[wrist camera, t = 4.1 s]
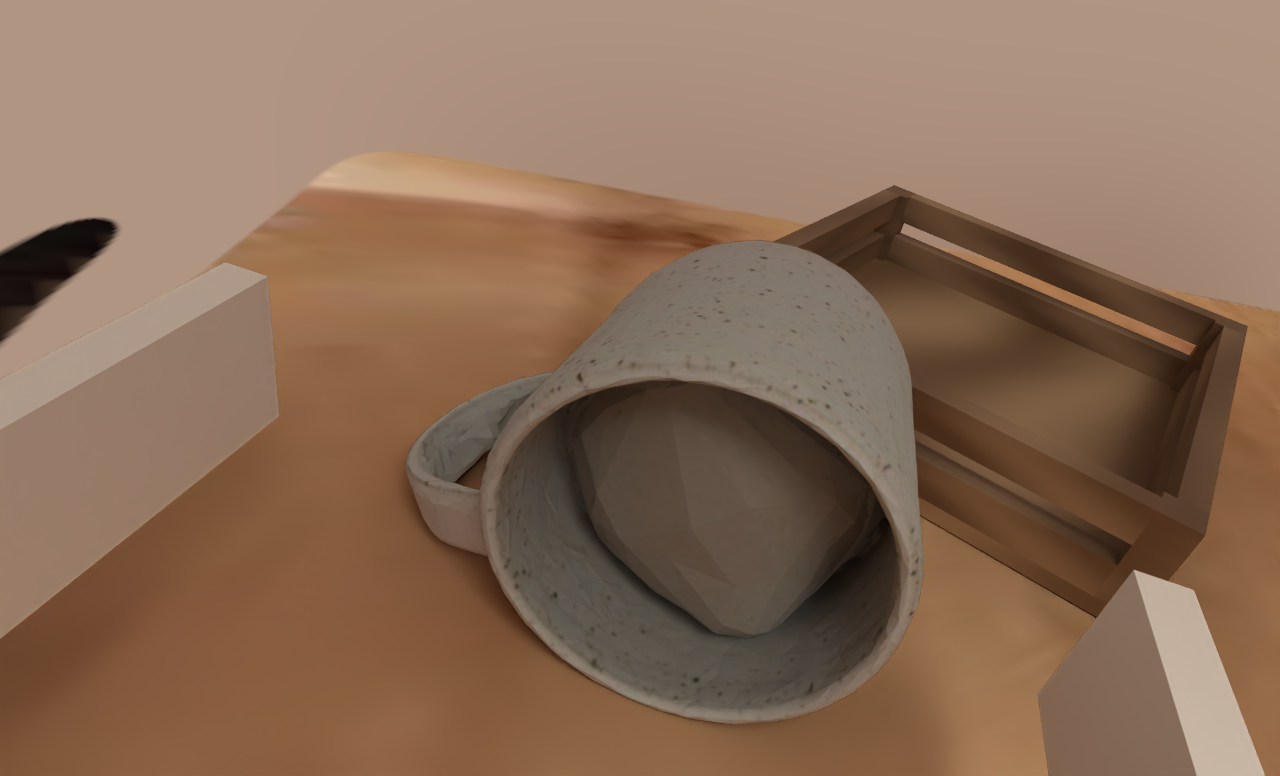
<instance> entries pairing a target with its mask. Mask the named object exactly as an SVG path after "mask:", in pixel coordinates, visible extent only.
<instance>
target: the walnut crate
mask: <svg viewBox="0 0 1280 776" xmlns="http://www.w3.org/2000/svg"><path fill="white" fill-rule="evenodd" d="M904 223H906V224H908V225H911V226H913V227H915V228H917V229H920V230H923V231H925V232H927V233H929V234H932V235H934V236H937V237H940V238H942V239H944V240H946V241H949V242H951V243H954V244H956V245H958V246H961V247H963V248H965V249H968V250H970V251H973V252H975V253H977V254H980V255H982V256H984V257H987V258H989V259H992V260H994V261H996V262H999V263H1001V264H1004V265H1006V266H1008V267H1011V268H1013V269H1016V270H1018V271H1020V272H1023V273H1025V274H1028V275H1030V276H1032V277H1035V278H1037V279H1039V280H1042V281H1044V282H1047V283H1049V284H1051V285H1054V286H1056V287H1059V288H1061V289H1063V290H1066V291H1068V292H1071V293H1073V294H1075V295H1078V296H1080V297H1083V298H1085V299H1087V300H1090V301H1092V302H1095V303H1097V304H1099V305H1102V306H1104V307H1106V308H1109V309H1111V310H1114V311H1116V312H1118V313H1121V314H1123V315H1126V316H1128V317H1130V318H1133V319H1135V320H1138V321H1140V322H1142V323H1145V324H1147V325H1150V326H1152V327H1154V328H1157V329H1159V330H1161V331H1164V332H1166V333H1169V334H1171V335H1173V336H1176V337H1178V338H1181V339H1183V340H1185V341H1188V342H1190V343H1193V344H1195V345H1196V347H1195V348H1194V349H1193V351H1192V352H1191V354H1190V355H1187V354H1185V353H1182V352H1180V351H1178V350H1175V349H1173V348H1171V347H1168V346H1166V345H1163V344H1161V343H1159V342H1156V341H1154V340H1152V339H1149V338H1147V337H1145V336H1142V335H1140V334H1138V333H1135V332H1133V331H1130V330H1128V329H1126V328H1123V327H1121V326H1119V325H1116V324H1114V323H1112V322H1109V321H1107V320H1105V319H1102V318H1100V317H1098V316H1095V315H1093V314H1090V313H1088V312H1086V311H1083V310H1081V309H1079V308H1076V307H1074V306H1072V305H1069V304H1067V303H1065V302H1062V301H1060V300H1057V299H1055V298H1053V297H1050V296H1048V295H1046V294H1043V293H1041V292H1039V291H1036V290H1034V289H1032V288H1029V287H1027V286H1024V285H1022V284H1020V283H1017V282H1015V281H1013V280H1010V279H1008V278H1006V277H1003V276H1001V275H999V274H996V273H994V272H992V271H989V270H987V269H984V268H982V267H980V266H977V265H975V264H973V263H970V262H968V261H966V260H963V259H961V258H959V257H956V256H954V255H951V254H949V253H947V252H944V251H942V250H940V249H937V248H935V247H933V246H930V245H928V244H926V243H923V242H921V241H919V240H916V239H914V238H911V237H909V236H907V235H904V234H902V233H900V232H901V229H902V227H903V224H904ZM774 242H776V243H781V244H786V245H790V246H794V247H798V248H802V249H805V250H809V251H812V252H814V253H815V254H817V255H819V256H821V257H823V258H825V259H827V260H828V261H830V262H832V263H834V264H836V265H838V266H840V267H841V268H843V269H845V270H846V271H847V272H848V273H849V274H850V275H852V276H853V277H854V278H855V279H856V280H857V281H858V282H859V283H860V284H862V285H863V286H864V287H865V288H866V289H867V290H868V292H869V293H870V294H871V295H872V296H873V297H874V298H875V299H876V301H877V302H878V303H879V305H880V307H881V308H882V310H883V311H884V313H885V314H886V316H887V317H888V319H889V321H890V323H891V325H892V327H893V329H894V331H895V333H896V335H897V337H898V339H899V341H900V343H901V345H902V347H903V349H904V353H905V356H906V359H907V362H908V365H909V370H910V375H911V384H912V401H913V424H914V436H915V449H916V463H917V480H918V499H919V510H920V515H921V516H923V517H924V518H926V519H928V520H929V521H931V522H933V523H935V524H936V525H938V526H940V527H942V528H943V529H945V530H947V531H948V532H950V533H952V534H954V535H955V536H957V537H959V538H961V539H962V540H964V541H966V542H967V543H969V544H971V545H973V546H974V547H976V548H978V549H980V550H981V551H983V552H985V553H986V554H988V555H990V556H992V557H993V558H995V559H997V560H999V561H1000V562H1002V563H1004V564H1005V565H1007V566H1009V567H1011V568H1012V569H1014V570H1016V571H1018V572H1019V573H1021V574H1023V575H1024V576H1026V577H1028V578H1030V579H1031V580H1033V581H1035V582H1037V583H1038V584H1040V585H1042V586H1043V587H1045V588H1047V589H1049V590H1050V591H1052V592H1054V593H1056V594H1057V595H1059V596H1061V597H1062V598H1064V599H1066V600H1068V601H1069V602H1071V603H1073V604H1075V605H1076V606H1078V607H1080V608H1081V609H1083V610H1085V611H1087V612H1088V613H1090V614H1092V615H1094V616H1095V617H1098V615H1099V614H1100V613H1101V612H1102V610H1103V609H1104V608H1105V606H1106V605H1107V604H1108V602H1109V601H1110V600H1111V599H1112V597H1113V596H1114V595H1115V593H1116V592H1117V591H1118V590H1119V588H1120V587H1121V586H1122V584H1123V583H1124V582H1125V580H1126V579H1127V578H1128V577H1129V575H1130V574H1131V573H1132V571H1133V570H1136V571H1139V572H1142V573H1145V574H1148V575H1151V576H1154V577H1157V578H1160V579H1163V580H1166V581H1168V580H1169V579H1170V578H1171V577H1172V575H1173V574H1174V573H1175V572H1176V571H1177V569H1178V568H1179V567H1180V566H1181V564H1182V563H1183V562H1184V561H1185V560H1186V558H1187V557H1188V556H1189V555H1190V553H1191V552H1192V551H1193V550H1194V548H1195V547H1196V546H1197V545H1198V544H1199V542H1200V541H1201V540H1202V539H1203V537H1204V536H1205V534H1206V529H1207V524H1208V519H1209V514H1210V509H1211V504H1212V499H1213V494H1214V489H1215V485H1216V480H1217V475H1218V470H1219V465H1220V460H1221V455H1222V450H1223V445H1224V440H1225V435H1226V430H1227V425H1228V420H1229V416H1230V411H1231V406H1232V401H1233V396H1234V391H1235V386H1236V381H1237V376H1238V371H1239V366H1240V361H1241V356H1242V351H1243V346H1244V342H1245V337H1246V332H1247V327H1248V326H1246V325H1243V324H1241V323H1238V322H1236V321H1233V320H1231V319H1228V318H1226V317H1223V316H1220V315H1218V314H1215V313H1213V312H1210V311H1208V310H1205V309H1203V308H1200V307H1198V306H1195V305H1193V304H1190V303H1188V302H1185V301H1183V300H1180V299H1178V298H1175V297H1173V296H1170V295H1168V294H1165V293H1163V292H1160V291H1158V290H1155V289H1153V288H1150V287H1148V286H1145V285H1143V284H1140V283H1138V282H1135V281H1133V280H1130V279H1128V278H1125V277H1123V276H1120V275H1118V274H1115V273H1113V272H1110V271H1108V270H1105V269H1103V268H1100V267H1098V266H1095V265H1092V264H1090V263H1088V262H1085V261H1083V260H1080V259H1078V258H1075V257H1073V256H1070V255H1068V254H1065V253H1062V252H1060V251H1057V250H1055V249H1052V248H1050V247H1047V246H1044V245H1042V244H1040V243H1037V242H1035V241H1032V240H1030V239H1027V238H1025V237H1022V236H1020V235H1017V234H1015V233H1012V232H1010V231H1007V230H1005V229H1002V228H1000V227H997V226H995V225H992V224H990V223H987V222H985V221H982V220H980V219H977V218H975V217H972V216H970V215H967V214H964V213H962V212H960V211H957V210H955V209H952V208H950V207H947V206H944V205H942V204H940V203H937V202H935V201H932V200H929V199H927V198H924V197H922V196H919V195H917V194H915V193H912V192H910V191H907V190H904V189H902V188H900V187H897V186H895V185H894V186H892V187H890V188H888V189H886V190H883V191H881V192H879V193H877V194H875V195H873V196H870V197H868V198H866V199H864V200H862V201H860V202H858V203H855V204H854V205H851V206H849V207H847V208H845V209H843V210H840V211H839V212H836V213H834V214H832V215H830V216H828V217H825V218H824V219H821V220H819V221H817V222H815V223H813V224H810V225H808V226H806V227H804V228H802V229H800V230H798V231H795V232H793V233H791V234H789V235H787V236H785V237H783V238H780V239H778V240H776V241H774Z"/></svg>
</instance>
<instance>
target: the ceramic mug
mask: <svg viewBox="0 0 1280 776" xmlns="http://www.w3.org/2000/svg"><path fill="white" fill-rule="evenodd" d="M490 449H491V451H490V453H489V455H488V458H487V462H486V466H485V470H484V474H483V478H482V482H481V487H480V489H479V490H476V489H473V488H470V487H466V486H463V485H460V484H456V483H455V482H456V481H457V480H458V479H459V478H460V476H461V475H462V474H463V473H464V472H466V471H467V470H468V469H469V468H470V467H472V466H473V465H474V464H475V463H476V462H477V461H478V460H479V459H480V457H481V456H482V455H483V454H484V453H485V452H487V451H488V450H490ZM406 473H407V476H408V479H409V482H410V485H411V487H412V490H413V493H414V495H415V498H416V501H417V503H418V506H419V509H420V511H421V514H422V517H423V519H424V520H425V522H426V523H427V525H428V527H429V528H430V530H431V531H432V532H433V533H434V534H435V535H436V536H437V537H438V538H439V539H440V540H441V541H443V542H445V543H447V544H449V545H451V546H454V547H457V548H460V549H463V550H467V551H470V552H473V553H477V554H480V555H484V556H488V559H489V562H490V564H491V567H492V570H493V571H494V573H495V575H496V577H497V579H498V582H499V584H500V586H501V588H502V591H503V593H504V594H505V595H506V597H507V598H508V600H509V601H510V603H511V604H512V606H513V607H514V608H515V610H516V611H517V613H518V614H519V616H520V617H521V619H522V620H523V621H524V623H525V624H526V625H527V626H528V627H529V628H530V629H531V630H532V631H533V632H534V633H535V634H536V635H537V636H538V637H539V638H540V639H541V640H542V641H543V642H544V643H545V644H546V645H547V646H548V647H549V648H550V649H551V650H552V651H553V652H554V653H555V654H557V655H558V656H559V657H560V658H561V659H563V660H564V661H566V662H567V663H568V664H570V665H571V666H573V667H574V668H576V669H577V670H579V671H580V672H582V673H583V674H584V675H586V676H587V677H589V678H590V679H592V680H593V681H595V682H597V683H599V684H601V685H603V686H604V687H606V688H608V689H610V690H612V691H614V692H616V693H618V694H620V695H622V696H624V697H626V698H629V699H631V700H633V701H635V702H638V703H641V704H643V705H646V706H649V707H652V708H654V709H657V710H660V711H662V712H667V713H672V714H675V715H677V716H680V717H684V718H690V719H696V720H703V721H711V722H718V723H726V724H744V723H763V722H779V721H783V720H788V719H792V718H796V717H801V716H804V715H808V714H811V713H814V712H816V711H818V710H821V709H823V708H825V707H827V706H829V705H831V704H833V703H835V702H837V701H838V700H840V699H842V698H844V697H846V696H848V695H850V694H851V693H853V692H855V691H856V690H857V689H858V688H859V687H861V686H862V685H863V684H864V683H866V682H867V681H868V680H869V679H870V678H872V677H873V676H874V675H875V674H876V673H877V672H878V671H879V670H880V669H881V668H882V666H883V665H884V664H885V663H886V662H887V661H888V660H889V658H890V657H891V655H892V654H893V652H894V651H895V650H896V648H897V647H898V645H899V643H900V641H901V639H902V637H903V635H904V633H905V631H906V629H907V628H908V626H909V624H910V622H911V620H912V617H913V615H914V612H915V610H916V607H917V605H918V603H919V598H920V592H921V586H922V580H923V549H922V532H921V521H920V510H919V499H918V480H917V463H916V449H915V436H914V424H913V401H912V384H911V375H910V370H909V365H908V362H907V359H906V356H905V353H904V349H903V347H902V345H901V343H900V341H899V339H898V337H897V335H896V333H895V331H894V329H893V327H892V325H891V323H890V321H889V319H888V317H887V316H886V314H885V313H884V311H883V310H882V308H881V307H880V305H879V303H878V302H877V301H876V299H875V298H874V297H873V296H872V295H871V294H870V293H869V292H868V290H867V289H866V288H865V287H864V286H863V285H862V284H860V283H859V282H858V281H857V280H856V279H855V278H854V277H853V276H852V275H850V274H849V273H848V272H847V271H846V270H845V269H843V268H841V267H840V266H838V265H836V264H834V263H832V262H830V261H828V260H827V259H825V258H823V257H821V256H819V255H817V254H815V253H814V252H812V251H809V250H805V249H802V248H798V247H794V246H790V245H786V244H781V243H776V242H769V241H762V240H749V241H737V242H729V243H720V244H716V245H712V246H709V247H706V248H703V249H699V250H697V251H694V252H692V253H690V254H687V255H685V256H683V257H681V258H679V259H677V260H675V261H674V262H672V263H670V264H668V265H666V266H665V267H663V268H661V269H659V270H657V271H656V272H654V273H652V274H651V275H650V276H649V277H648V278H646V279H645V280H644V281H643V282H642V283H641V284H640V285H639V286H637V287H636V288H635V289H634V290H633V291H632V292H631V293H630V294H629V295H628V296H627V297H626V298H625V299H624V300H623V301H622V302H621V303H620V304H619V305H618V306H617V307H616V309H615V310H614V311H613V312H612V314H611V315H610V316H609V317H608V319H607V320H606V321H605V322H604V323H603V324H602V325H601V326H600V327H599V328H598V329H597V330H596V331H595V332H594V333H593V334H592V335H591V336H590V337H589V338H588V339H587V340H586V341H585V342H583V343H582V344H581V345H580V346H579V347H578V348H577V349H576V350H575V351H574V352H573V353H572V354H571V355H570V356H569V357H568V358H567V359H566V360H565V361H564V362H563V363H562V364H561V365H560V366H559V367H558V368H557V369H556V370H555V371H554V372H549V373H543V374H539V375H534V376H530V377H522V378H520V379H517V380H515V381H512V382H509V383H507V384H504V385H500V386H497V387H495V388H492V389H490V390H488V391H486V392H483V393H481V394H479V395H477V396H475V397H473V398H471V399H469V400H467V401H465V402H464V403H462V404H460V405H458V406H457V407H455V408H453V409H452V410H450V411H449V412H448V413H447V414H446V415H444V416H443V417H441V418H440V419H438V420H437V421H436V422H435V423H434V424H432V425H431V426H430V427H429V428H428V429H426V430H425V431H424V432H423V433H422V435H421V436H420V437H419V438H418V439H417V440H416V442H415V443H414V445H413V446H412V447H411V449H410V451H409V453H408V456H407V460H406Z"/></svg>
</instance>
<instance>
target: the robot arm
mask: <svg viewBox="0 0 1280 776" xmlns="http://www.w3.org/2000/svg"><path fill="white" fill-rule="evenodd" d="M278 417H279V407H278V395H277V382H276V370H275V358H274V345H273V333H272V321H271V308H270V296H269V283H268V276H265V275H262V274H259V273H256V272H253V271H250V270H247V269H244V268H241V267H238V266H235V265H233V264H230V263H227V262H225V263H223V264H221V265H219V266H217V267H215V268H213V269H211V270H209V271H207V272H205V273H203V274H201V275H200V276H198V277H196V278H194V279H192V280H190V281H188V282H186V283H184V284H182V285H180V286H178V287H176V288H174V289H173V290H171V291H169V292H167V293H165V294H163V295H161V296H159V297H157V298H155V299H153V300H151V301H149V302H147V303H146V304H144V305H142V306H140V307H138V308H136V309H134V310H132V311H130V312H128V313H126V314H124V315H122V316H120V317H118V318H116V319H114V320H113V321H111V322H109V323H107V324H105V325H103V326H101V327H99V328H97V329H95V330H93V331H91V332H90V333H88V334H85V335H84V336H82V337H80V338H78V339H76V340H74V341H72V342H70V343H68V344H66V345H64V346H62V347H60V348H58V349H56V350H54V351H53V352H51V353H49V354H47V355H45V356H43V357H41V358H39V359H37V360H35V361H33V362H32V363H29V364H27V365H25V366H24V367H22V368H20V369H18V370H16V371H14V372H12V373H10V374H8V375H6V376H4V377H2V378H0V639H1V638H2V637H3V636H4V635H6V634H7V633H8V632H10V631H11V630H12V629H13V628H15V627H16V626H17V625H18V624H20V623H21V622H22V621H23V620H25V619H26V618H27V617H28V616H30V615H31V614H32V613H33V612H35V611H36V610H37V609H38V608H40V607H41V606H42V605H43V604H45V603H46V602H47V601H48V600H50V599H51V598H52V597H53V596H55V595H56V594H57V593H58V592H60V591H61V590H62V589H63V588H65V587H66V586H67V585H68V584H70V583H71V582H72V581H73V580H75V579H76V578H77V577H78V576H80V575H81V574H82V573H83V572H85V571H86V570H87V569H88V568H90V567H91V566H92V565H94V564H95V563H96V562H97V561H99V560H100V559H101V558H102V557H104V556H105V555H106V554H107V553H109V552H110V551H111V550H112V549H114V548H115V547H116V546H117V545H119V544H120V543H121V542H122V541H124V540H125V539H126V538H127V537H129V536H130V535H131V534H132V533H134V532H135V531H136V530H137V529H139V528H140V527H141V526H142V525H144V524H145V523H146V522H147V521H149V520H150V519H151V518H152V517H154V516H155V515H156V514H157V513H159V512H160V511H161V510H162V509H164V508H165V507H166V506H167V505H169V504H170V503H171V502H172V501H174V500H175V499H176V498H178V497H179V496H180V495H181V494H183V493H184V492H185V491H186V490H188V489H189V488H190V487H191V486H193V485H194V484H195V483H196V482H198V481H199V480H200V479H201V478H203V477H204V476H205V475H206V474H208V473H209V472H210V471H211V470H213V469H214V468H215V467H216V466H218V465H219V464H220V463H221V462H223V461H224V460H225V459H226V458H228V457H229V456H230V455H231V454H233V453H234V452H235V451H236V450H238V449H239V448H240V447H241V446H243V445H244V444H245V443H246V442H248V441H249V440H250V439H251V438H253V437H254V436H255V435H256V434H258V433H259V432H260V431H262V430H263V429H264V428H265V427H267V426H268V425H269V424H270V423H272V422H273V421H274V420H275V419H277V418H278ZM1038 701H1039V708H1040V716H1041V723H1042V730H1043V737H1044V745H1045V752H1046V759H1047V767H1048V774H1049V776H1265V774H1264V771H1263V769H1262V766H1261V763H1260V761H1259V758H1258V756H1257V753H1256V750H1255V748H1254V745H1253V743H1252V740H1251V737H1250V735H1249V732H1248V730H1247V727H1246V724H1245V722H1244V719H1243V717H1242V714H1241V711H1240V709H1239V706H1238V704H1237V701H1236V698H1235V696H1234V693H1233V691H1232V688H1231V685H1230V683H1229V680H1228V678H1227V675H1226V672H1225V670H1224V667H1223V664H1222V662H1221V659H1220V657H1219V654H1218V651H1217V649H1216V646H1215V644H1214V641H1213V638H1212V636H1211V633H1210V631H1209V628H1208V625H1207V623H1206V620H1205V618H1204V615H1203V612H1202V610H1201V607H1200V605H1199V602H1198V599H1197V597H1196V594H1195V592H1194V590H1192V589H1189V588H1186V587H1183V586H1180V585H1177V584H1175V583H1172V582H1169V581H1166V580H1163V579H1160V578H1157V577H1154V576H1151V575H1148V574H1145V573H1142V572H1139V571H1136V570H1133V571H1132V573H1131V574H1130V575H1129V577H1128V578H1127V579H1126V580H1125V582H1124V583H1123V584H1122V586H1121V587H1120V588H1119V590H1118V591H1117V592H1116V593H1115V595H1114V596H1113V597H1112V599H1111V600H1110V601H1109V602H1108V604H1107V605H1106V606H1105V608H1104V609H1103V610H1102V612H1101V613H1100V614H1099V615H1098V617H1097V618H1096V619H1095V621H1094V622H1093V623H1092V624H1091V626H1090V627H1089V628H1088V630H1087V631H1086V632H1085V634H1084V635H1083V636H1082V637H1081V639H1080V640H1079V641H1078V643H1077V644H1076V645H1075V647H1074V648H1073V649H1072V650H1071V652H1070V653H1069V654H1068V656H1067V657H1066V658H1065V659H1064V661H1063V662H1062V663H1061V665H1060V666H1059V667H1058V669H1057V670H1056V671H1055V672H1054V674H1053V675H1052V676H1051V678H1050V679H1049V680H1048V681H1047V683H1046V684H1045V685H1044V687H1043V688H1042V689H1041V691H1040V692H1039V693H1038Z"/></svg>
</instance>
